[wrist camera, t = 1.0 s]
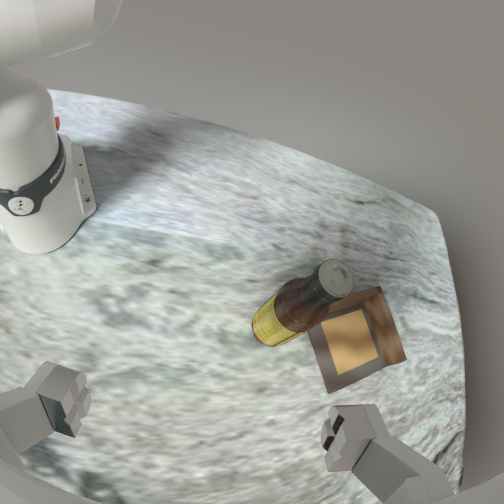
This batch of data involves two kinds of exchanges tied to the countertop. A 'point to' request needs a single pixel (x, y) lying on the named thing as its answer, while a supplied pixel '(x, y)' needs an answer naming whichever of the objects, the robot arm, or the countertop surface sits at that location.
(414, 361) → the countertop surface
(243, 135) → the countertop surface
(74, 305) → the countertop surface
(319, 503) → the countertop surface
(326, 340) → the corner arena
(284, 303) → the sauce bottle
